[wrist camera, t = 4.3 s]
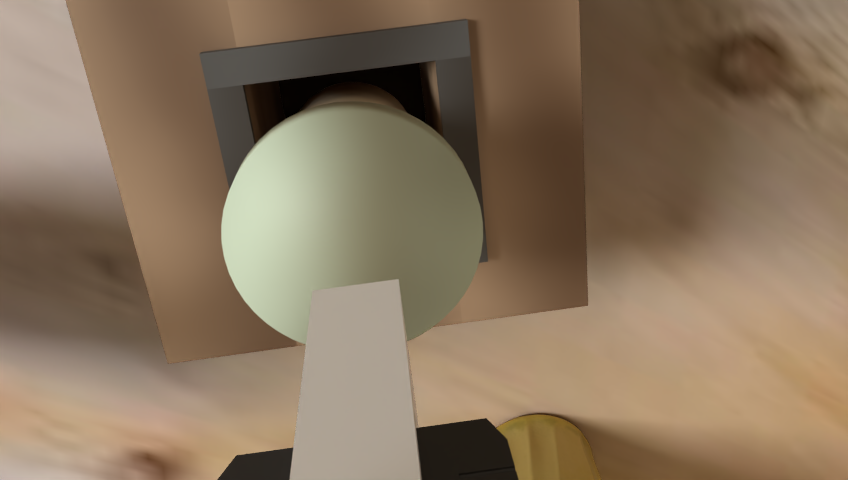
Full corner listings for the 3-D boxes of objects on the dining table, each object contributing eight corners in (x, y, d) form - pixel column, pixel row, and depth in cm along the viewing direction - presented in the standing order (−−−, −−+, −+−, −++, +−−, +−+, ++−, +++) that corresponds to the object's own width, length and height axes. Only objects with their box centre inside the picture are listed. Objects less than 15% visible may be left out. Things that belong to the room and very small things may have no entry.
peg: (278, 240, 27) (249, 368, 19) (242, 62, 24) (194, 131, 17) (453, 216, 27) (492, 334, 19) (435, 37, 24) (472, 95, 17)
